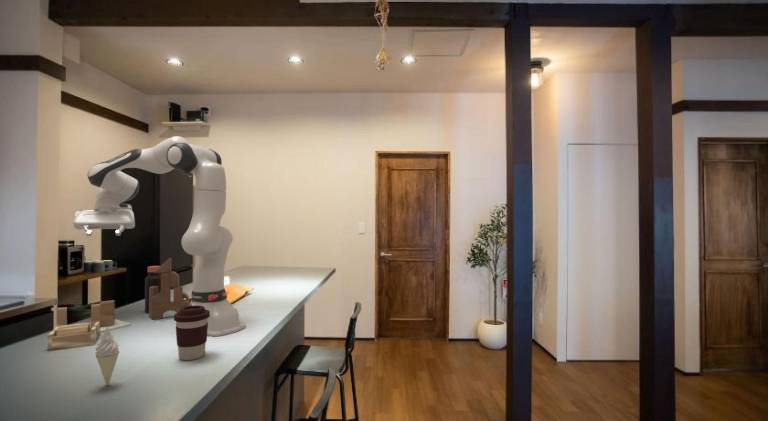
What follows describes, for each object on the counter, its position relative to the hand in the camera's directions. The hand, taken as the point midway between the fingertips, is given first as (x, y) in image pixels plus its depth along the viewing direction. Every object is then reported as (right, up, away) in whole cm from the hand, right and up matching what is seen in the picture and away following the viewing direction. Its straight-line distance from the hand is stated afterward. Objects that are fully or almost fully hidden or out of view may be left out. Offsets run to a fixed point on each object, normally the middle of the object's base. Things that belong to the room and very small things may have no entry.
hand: (103, 235), depth 151 cm
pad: (+3, -35, -3) cm, 36 cm away
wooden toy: (+19, -36, +12) cm, 42 cm away
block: (+3, -35, -3) cm, 35 cm away
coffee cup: (+52, -36, -33) cm, 71 cm away
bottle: (+8, -36, +20) cm, 42 cm away
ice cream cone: (+40, -35, -53) cm, 75 cm away
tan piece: (+6, -35, -21) cm, 41 cm away
